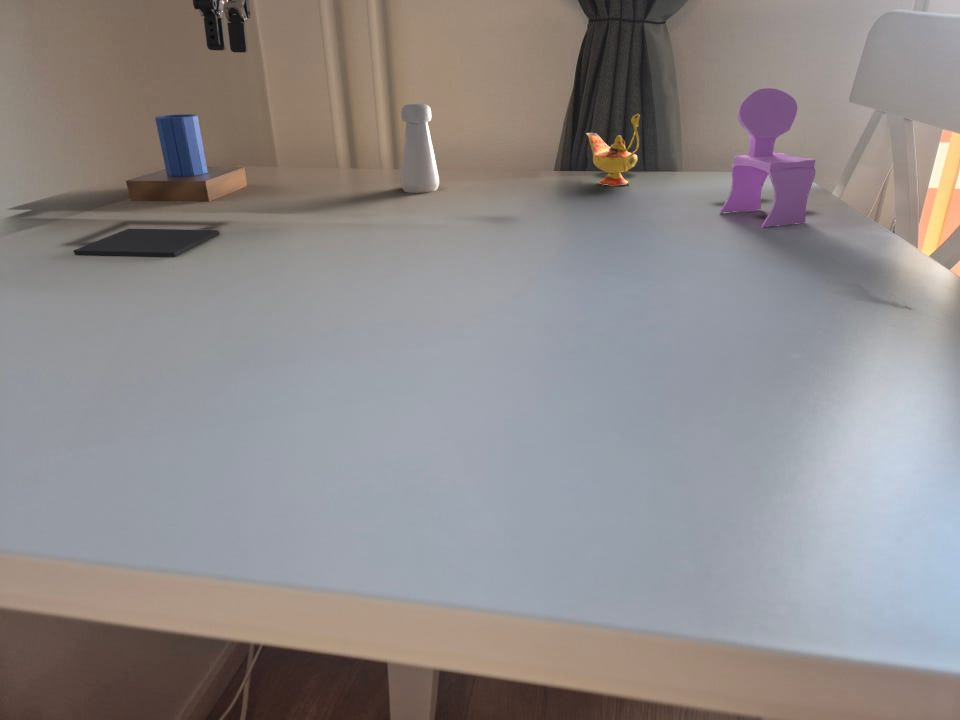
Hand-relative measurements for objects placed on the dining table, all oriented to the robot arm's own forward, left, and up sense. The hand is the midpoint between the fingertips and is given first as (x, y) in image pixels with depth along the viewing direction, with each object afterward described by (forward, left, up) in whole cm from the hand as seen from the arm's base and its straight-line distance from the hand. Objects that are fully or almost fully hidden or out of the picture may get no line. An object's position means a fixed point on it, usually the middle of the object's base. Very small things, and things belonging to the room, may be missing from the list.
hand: (228, 51), depth 91 cm
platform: (-10, +1, -20) cm, 23 cm away
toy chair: (+70, -6, -20) cm, 73 cm away
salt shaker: (+24, +5, -20) cm, 32 cm away
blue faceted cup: (-10, +1, -16) cm, 19 cm away
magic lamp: (+52, +19, -20) cm, 59 cm away
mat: (-2, -23, -20) cm, 30 cm away
